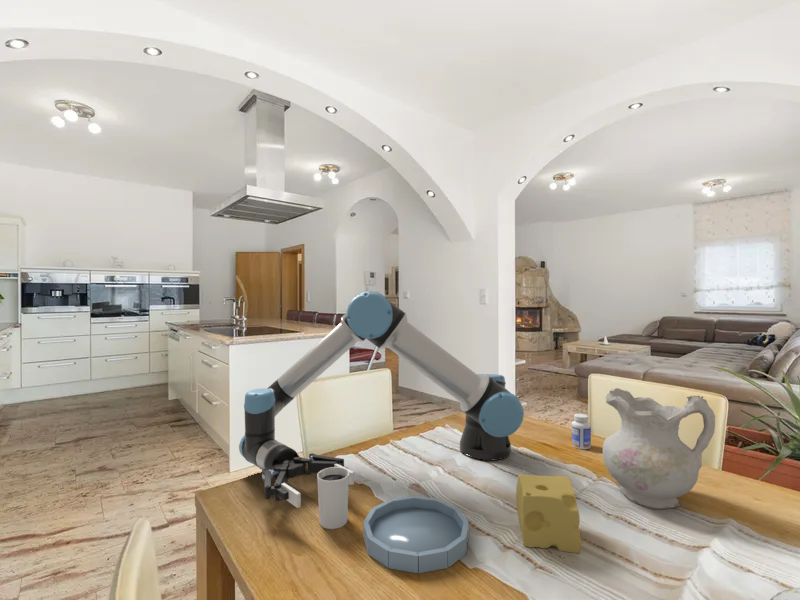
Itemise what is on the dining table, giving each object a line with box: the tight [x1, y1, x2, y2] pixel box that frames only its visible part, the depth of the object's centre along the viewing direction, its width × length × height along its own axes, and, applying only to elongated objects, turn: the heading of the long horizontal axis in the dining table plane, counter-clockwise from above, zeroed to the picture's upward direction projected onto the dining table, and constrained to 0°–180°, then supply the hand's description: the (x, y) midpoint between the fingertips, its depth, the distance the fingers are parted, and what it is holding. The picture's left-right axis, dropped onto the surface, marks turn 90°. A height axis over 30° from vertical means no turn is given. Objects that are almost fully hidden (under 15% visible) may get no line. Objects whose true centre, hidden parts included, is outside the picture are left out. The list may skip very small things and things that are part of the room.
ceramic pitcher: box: [602, 387, 716, 510], centre depth 95 cm, size 22×20×25 cm
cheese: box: [515, 473, 582, 554], centre depth 80 cm, size 10×11×10 cm
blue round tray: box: [362, 495, 470, 574], centre depth 80 cm, size 20×20×3 cm
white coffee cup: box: [316, 467, 350, 530], centre depth 86 cm, size 7×7×10 cm
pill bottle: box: [571, 413, 592, 450], centre depth 126 cm, size 5×5×10 cm
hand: (327, 489), depth 86 cm, fingers open, 13 cm apart
